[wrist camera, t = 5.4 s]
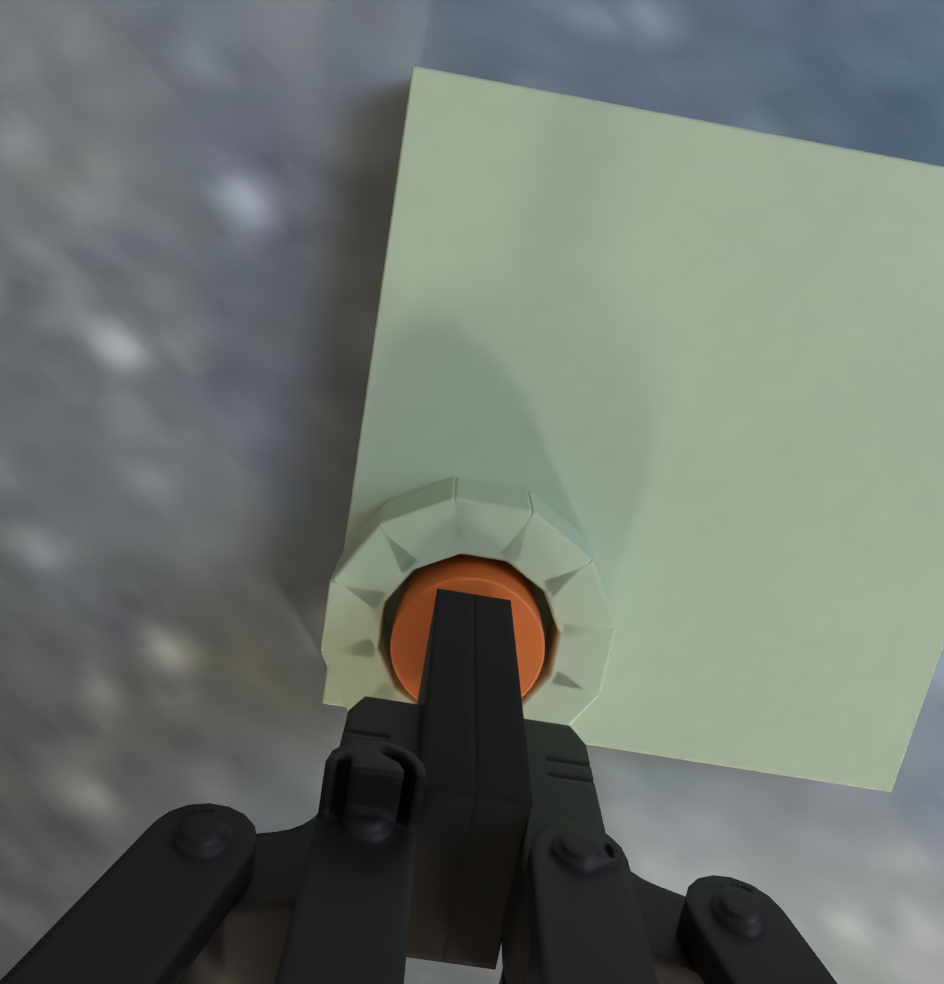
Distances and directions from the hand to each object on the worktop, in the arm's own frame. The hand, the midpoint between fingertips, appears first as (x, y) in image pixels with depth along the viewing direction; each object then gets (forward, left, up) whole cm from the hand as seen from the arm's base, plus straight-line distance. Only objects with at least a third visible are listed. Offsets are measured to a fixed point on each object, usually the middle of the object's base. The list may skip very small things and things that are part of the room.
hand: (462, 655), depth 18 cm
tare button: (0, 0, -2) cm, 2 cm away
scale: (-4, -4, -4) cm, 7 cm away
